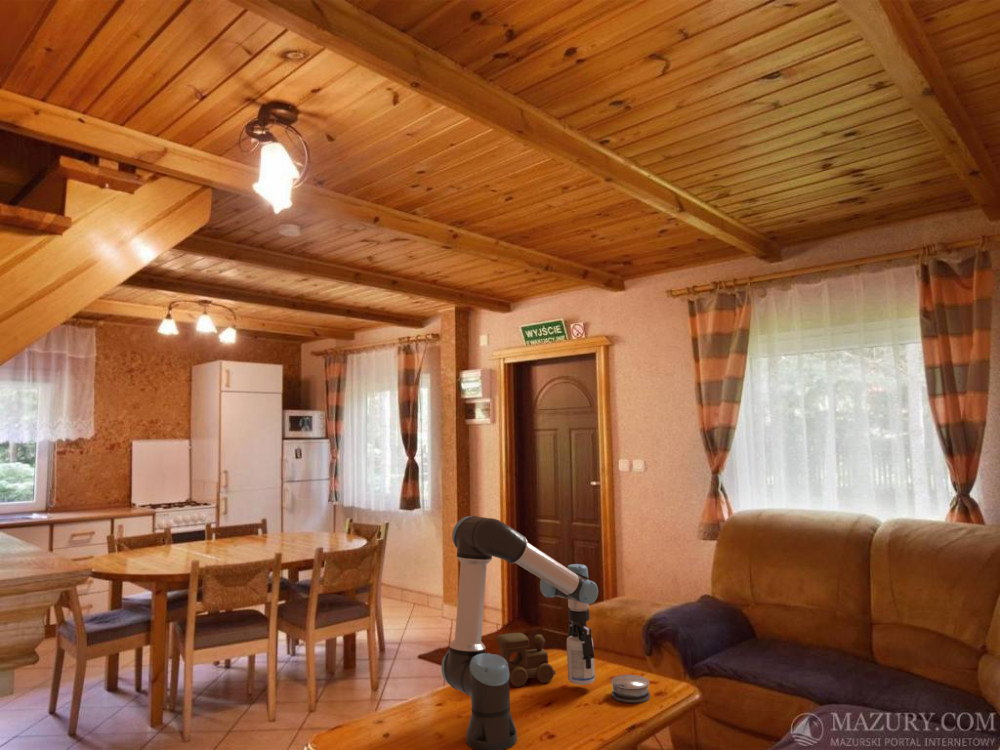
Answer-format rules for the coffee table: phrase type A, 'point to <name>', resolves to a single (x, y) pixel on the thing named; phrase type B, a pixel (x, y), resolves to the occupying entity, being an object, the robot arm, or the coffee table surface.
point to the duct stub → (630, 689)
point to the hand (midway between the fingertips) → (581, 673)
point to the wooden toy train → (525, 658)
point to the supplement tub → (577, 662)
